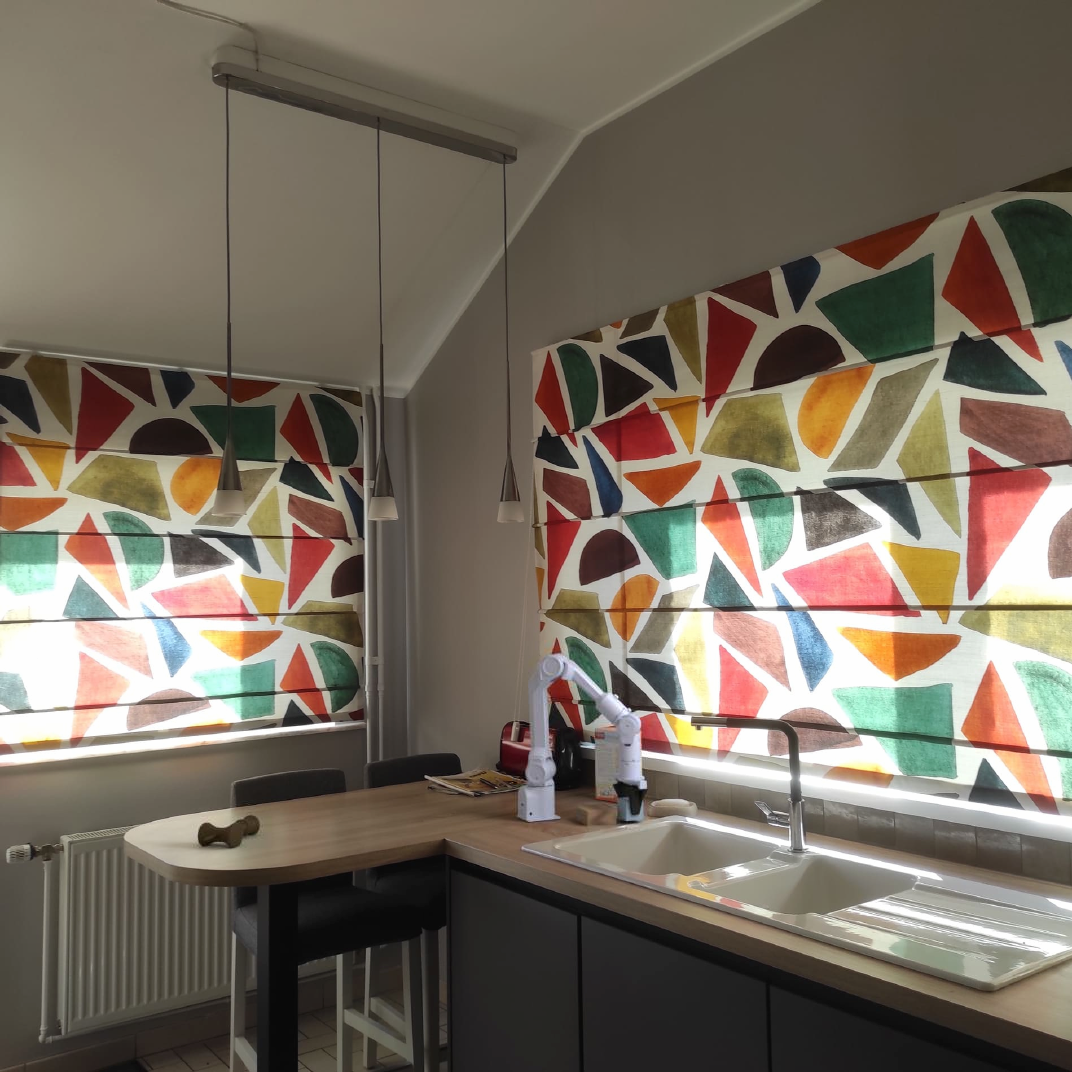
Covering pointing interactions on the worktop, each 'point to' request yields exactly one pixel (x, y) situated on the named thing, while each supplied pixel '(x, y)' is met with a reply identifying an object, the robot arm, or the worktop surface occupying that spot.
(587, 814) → the walnut block
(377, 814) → the worktop surface
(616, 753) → the cracker box
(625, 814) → the slate cube
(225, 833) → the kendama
